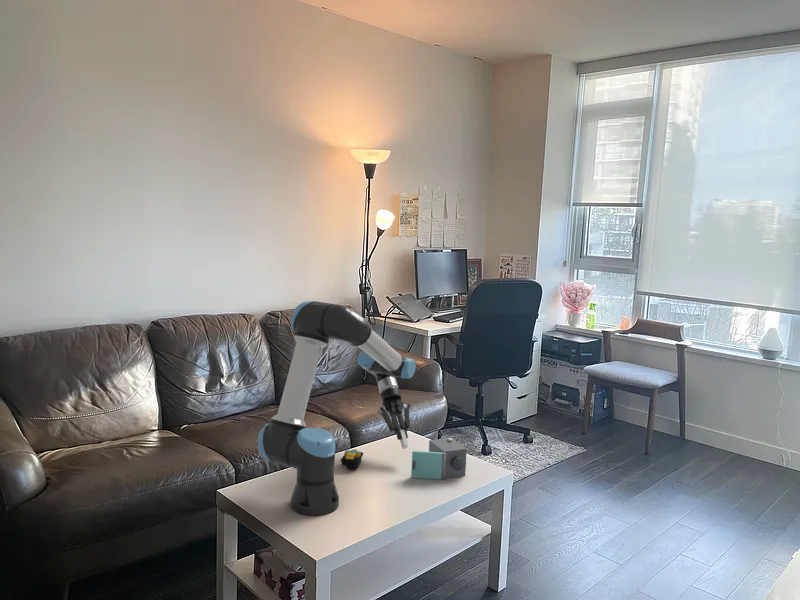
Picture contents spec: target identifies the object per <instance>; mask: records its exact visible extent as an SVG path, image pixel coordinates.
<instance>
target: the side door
mask: <svg viewBox="0 0 800 600" xmlns="http://www.w3.org/2000/svg"><path fill="white" fill-rule="evenodd" d="M411 453H412V455H411V472H410V473H411V474H410V475H411V476H410V477H411V478H413V479H414V478H415V479H430V480H431V479H432V480H441V481H445V479H446V478H445V463H446V453H445V452H443V453H440V452H429V451H426V450H425V451H423V450H412V452H411Z"/></svg>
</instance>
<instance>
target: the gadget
mask: <svg viewBox="0 0 800 600" xmlns="http://www.w3.org/2000/svg"><path fill="white" fill-rule="evenodd" d="M363 456H364V452H362V451H360V450H358V449H356V448H354V449H351V450H349V449H348V450H347V449H346V450H345V451H344V454H343V456H342V457H341V458H340V462H341V466H343V467H345V468H346V469H356V468H359V466H360V465H361V463H362V458H363Z"/></svg>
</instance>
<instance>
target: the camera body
mask: <svg viewBox="0 0 800 600" xmlns="http://www.w3.org/2000/svg"><path fill="white" fill-rule="evenodd" d="M428 452H440V453H443V452H445V453H446V463H445V479H452V478H457V477H458V478H459V477H465V476H466V470H467V448H466V447H465V446H463V445H462V444H460V443H459V442H458V441H456V440H455V439H454V438H452V437H447V438H446V437H445V438H439V439H438V438H436V439H429V441H428Z"/></svg>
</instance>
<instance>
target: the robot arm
mask: <svg viewBox="0 0 800 600" xmlns="http://www.w3.org/2000/svg"><path fill="white" fill-rule="evenodd" d="M290 325H291V330H292V331H293V332H294V334H293V338H294V340H295V342H296V343H295V348H294V351H293V354H292V355H293V356H292V358H291V359H292V360H291V362H290V366H289V371H288V373H287V378H286V381H285V385H284V387H283V388H284V389H283V393H282V396H281V398H280V403H279V408H278V411H277V413H276V414H275V415H273V416H272V417H271V419H270V422H269V423H266V424H265V425H263V428H261V430H259V433H258V437H257V447H258V448H257V449H258V451H259V452H260V453H259V454H260V455H261V456H262V458H263V459H265V460H268V461H270V462H271V463H273V464H274V463H275V464H279V465H282V466H286V467H289V468H293V469H295V470H296V482H295V485H294V487H293V491H292V494H291V497H290V508H291V509H292V511H294V512H295V513H298V514H300V515H303V516H323V515H326V514H330V513H332V512H334V511H335V510H337V509H338V507H339V505H340V496H339V493H338V490H337V486H336V483H335V458H336V443H335V438H334V435H333V434H332V433H331V432H330V431H328V430H325V429H323V428H319V427H307V424H306V422H305V420H304V418H305V415H306V410H307V407H308V404H309V403H308V402H309V399H310V395H311V391H312V388H313V383H314V380H315V377H316V376H315V375H316V372H317V367H318V364H319V361H320V360H319V359H320V357H321V353H322V350H323V349H324V348H326V347H327V346H328V345H329V340H337V341H342V342H345V343H348V345H350V346H352V347H358V348H359V349H360V350H362V351H360V352H359V354H358V356H357V363H358V365H359V366H360V367H361V368H362V369H363V370H366V371H367V372H368V373H370V374H372V376H374V377H375V380H376V383H377V386H378V390H379V393H380V398H381V401H382V406H380V407H379V409H378V411H377V412H378V414H380V415H381V416H382V418H383V420H384V422H385V424H386V426H387V427H388V429H389V431H390V432H392V433H393V432H394V434H396V438H397V439H396V440H398V441H399V442H400V445H401V448H402V449H407V448H408V447H409V442H408V440H407V439H408V438H409V435H408V432H407V430H409V428H410V426H411V423H410V422H411V420H410V408H411V405H410V404H406V403H404V401H403V399H402V395H401V392H400V389H399V385H398V381H397V379H396V378H401V379H411V378H412V377H413V376H414V375H415V373H416V368H417V367H416V362H415V360H414V359H413V358H409V357H403V356H402V354H400V353H399V352H398V351H397V350H395V348H393V347H392V346H391V345H390V344H389V343H387V342H386V340H384V339H383V338H382V337H381V336H380V335H379V334H378V333H377V332H376V331H374V330H373V327H372V325H371V324H370V322H369V321H368V320H366V318H364V317H363V316H361V314H359V313H358V312H356V311H354V310H353V309H351V308H349V307H348V306H346V305H342V304H337V303H335V304H334V303H329V302H323V301H316V300H314V301H313V300H312V301H309V300H307V301H306V300H305V301H303V302H301V303H300V304H298V305H297V306H296V307H295V308H294V310H293V312H292V314H291V317H290ZM402 410H403V412H402ZM403 415H404V416H403Z"/></svg>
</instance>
